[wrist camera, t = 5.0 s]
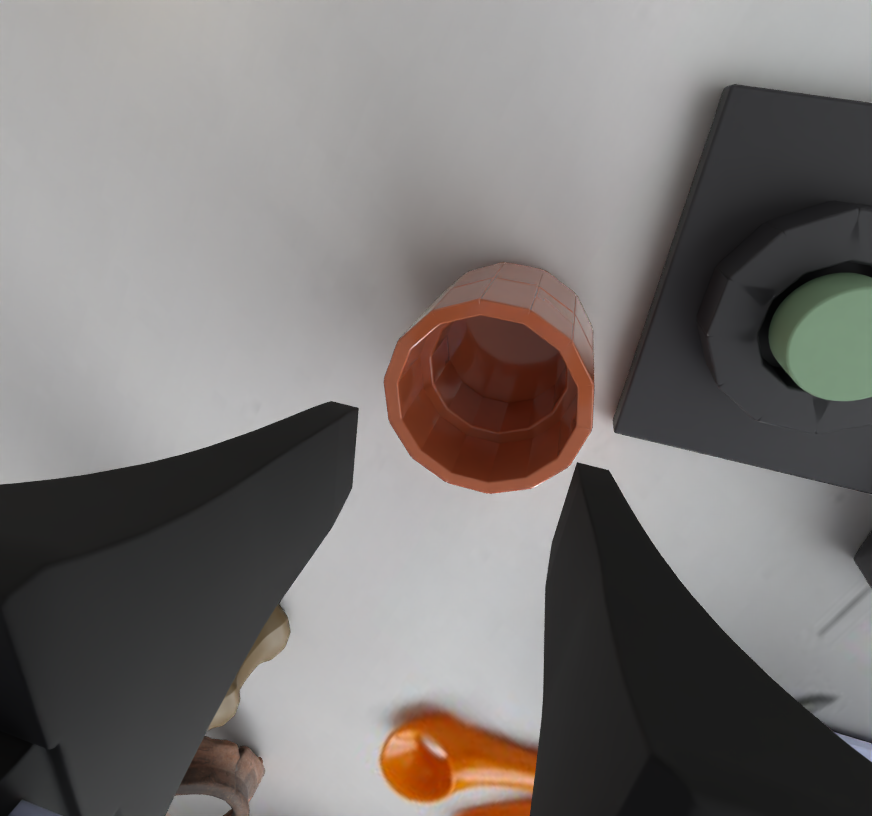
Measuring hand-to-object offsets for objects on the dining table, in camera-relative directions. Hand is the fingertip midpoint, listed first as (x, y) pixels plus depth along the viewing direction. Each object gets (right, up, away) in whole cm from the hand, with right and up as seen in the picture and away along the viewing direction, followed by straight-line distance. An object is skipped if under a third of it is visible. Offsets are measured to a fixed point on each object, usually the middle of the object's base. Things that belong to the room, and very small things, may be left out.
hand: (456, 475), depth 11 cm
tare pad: (+10, +4, +5) cm, 12 cm away
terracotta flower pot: (+2, +4, +7) cm, 8 cm away
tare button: (+10, +3, +3) cm, 11 cm away
